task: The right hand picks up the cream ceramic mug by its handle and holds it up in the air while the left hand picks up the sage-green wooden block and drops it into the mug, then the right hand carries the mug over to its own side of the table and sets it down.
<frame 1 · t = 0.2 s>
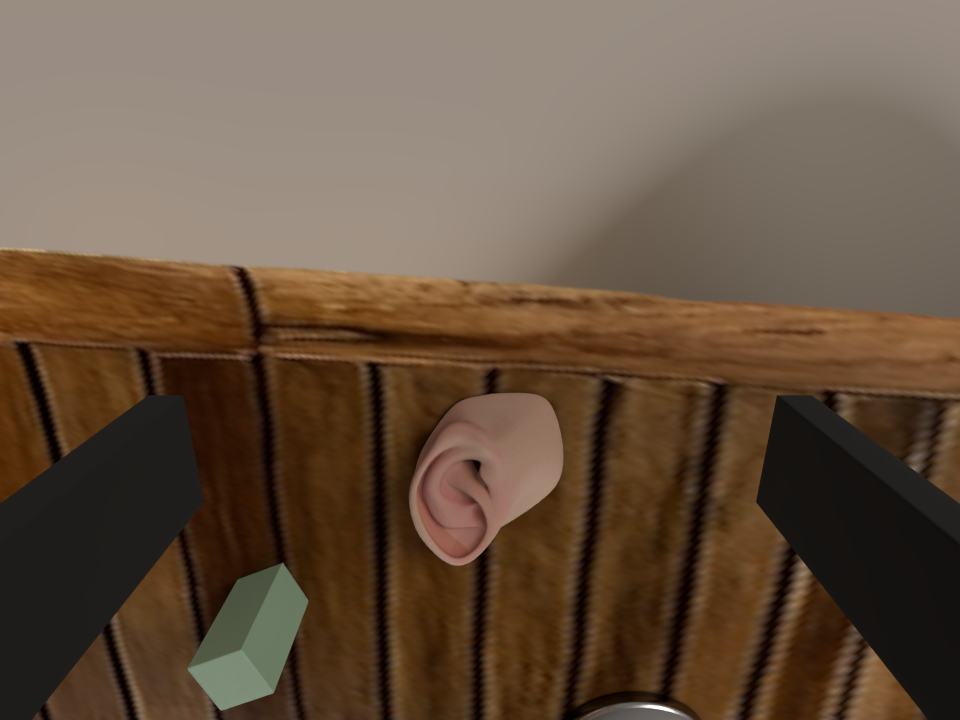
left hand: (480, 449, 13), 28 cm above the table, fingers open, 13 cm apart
block: (273, 590, 49), on the table
anatomical model: (486, 462, 45), on the table
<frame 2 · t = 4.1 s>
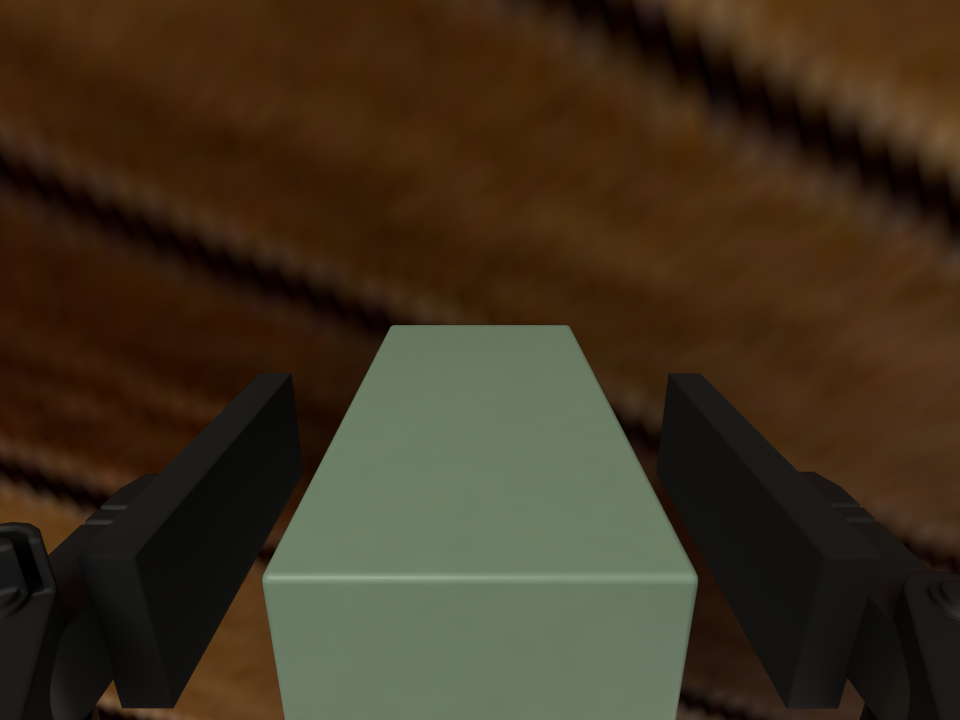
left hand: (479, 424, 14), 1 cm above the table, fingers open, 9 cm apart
block: (480, 406, 15), on the table
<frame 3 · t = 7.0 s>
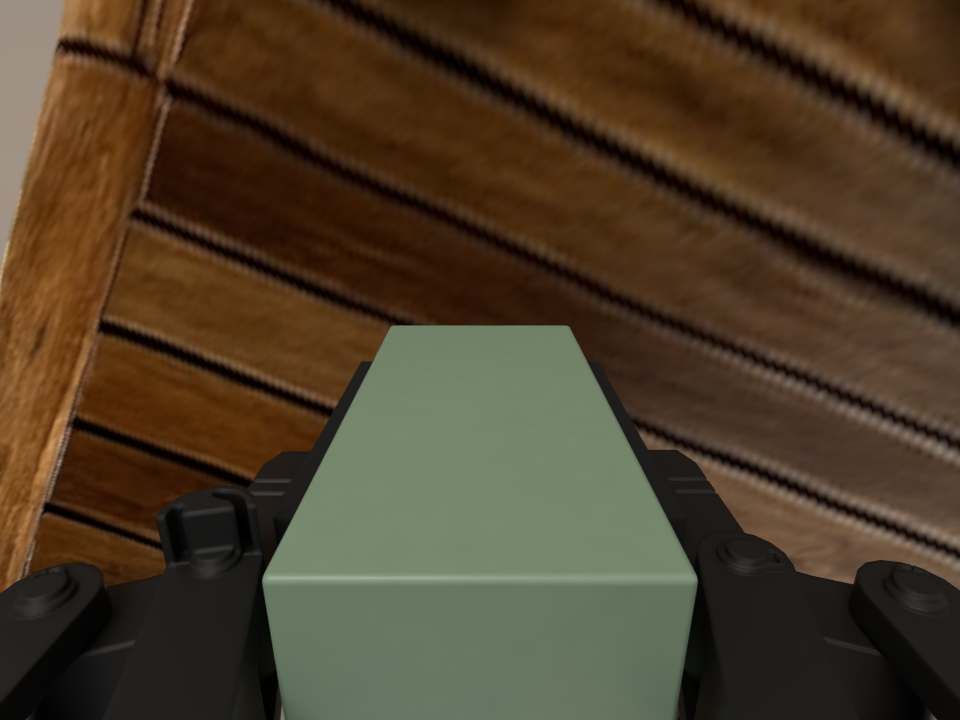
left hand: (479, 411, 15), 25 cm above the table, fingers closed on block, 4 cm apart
block: (480, 406, 15), point 24 cm above the table, touching left hand
when the left hand's fingers open (23 cm above the table, at t = 9.4 s): block drops 13 cm, resting on mug.
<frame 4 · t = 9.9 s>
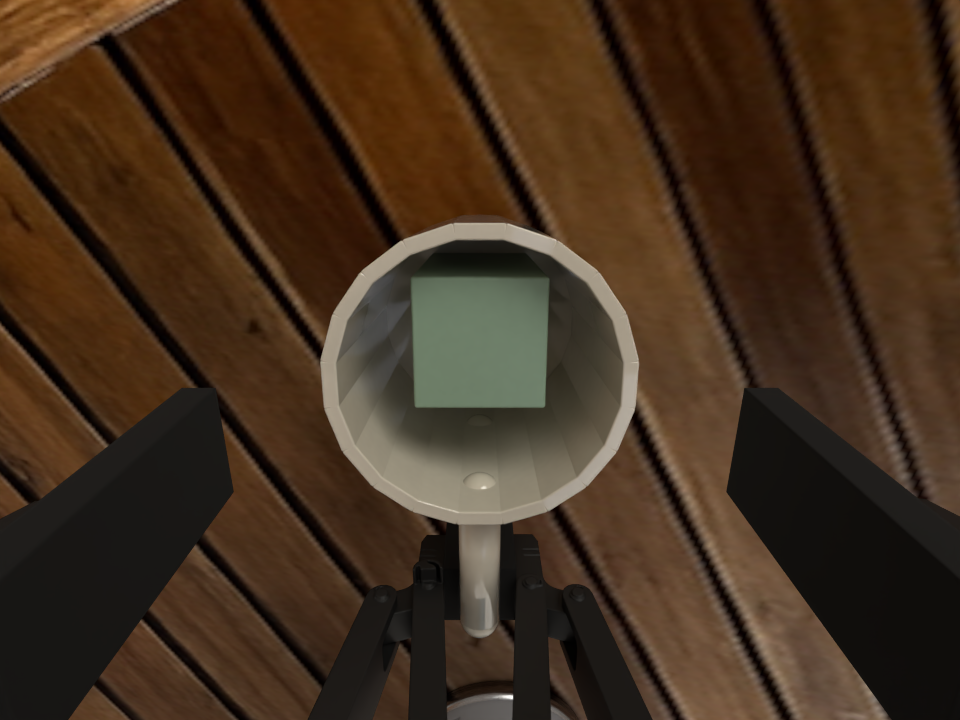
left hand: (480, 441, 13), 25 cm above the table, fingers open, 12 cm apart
mug: (479, 317, 28), point 9 cm above the table, touching block, right hand
block: (479, 299, 27), point 10 cm above the table, touching mug
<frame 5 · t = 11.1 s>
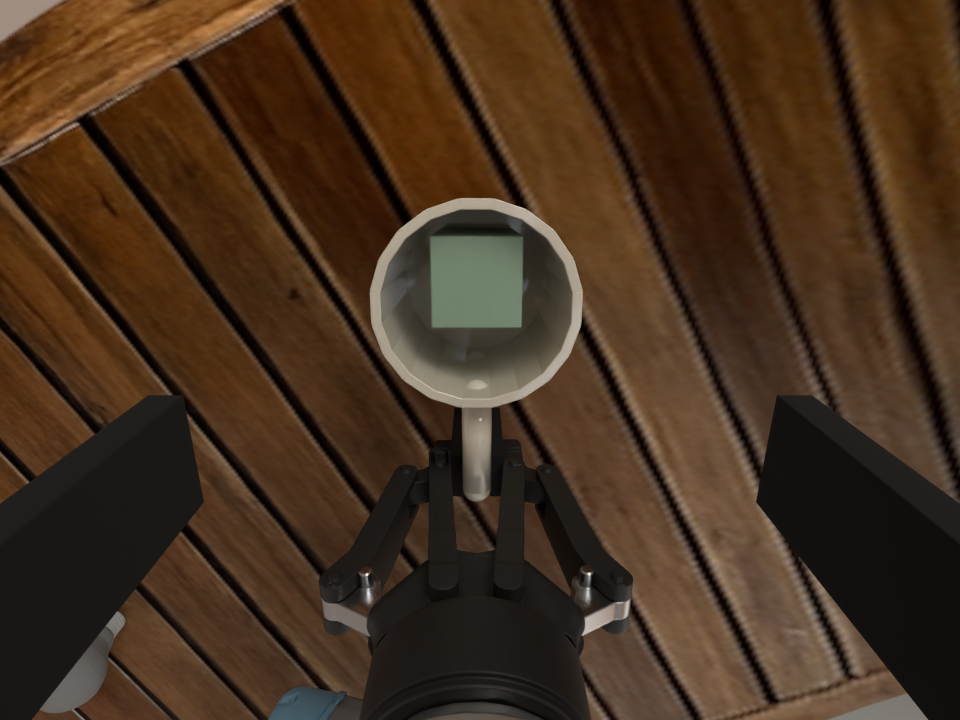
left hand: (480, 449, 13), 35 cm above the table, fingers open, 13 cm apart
right hand: (477, 425, 39), fingers closed on mug, 2 cm apart
mug: (477, 278, 37), point 9 cm above the table, touching block, right hand
block: (477, 263, 36), point 10 cm above the table, touching mug
light bulb: (115, 614, 58), on the table
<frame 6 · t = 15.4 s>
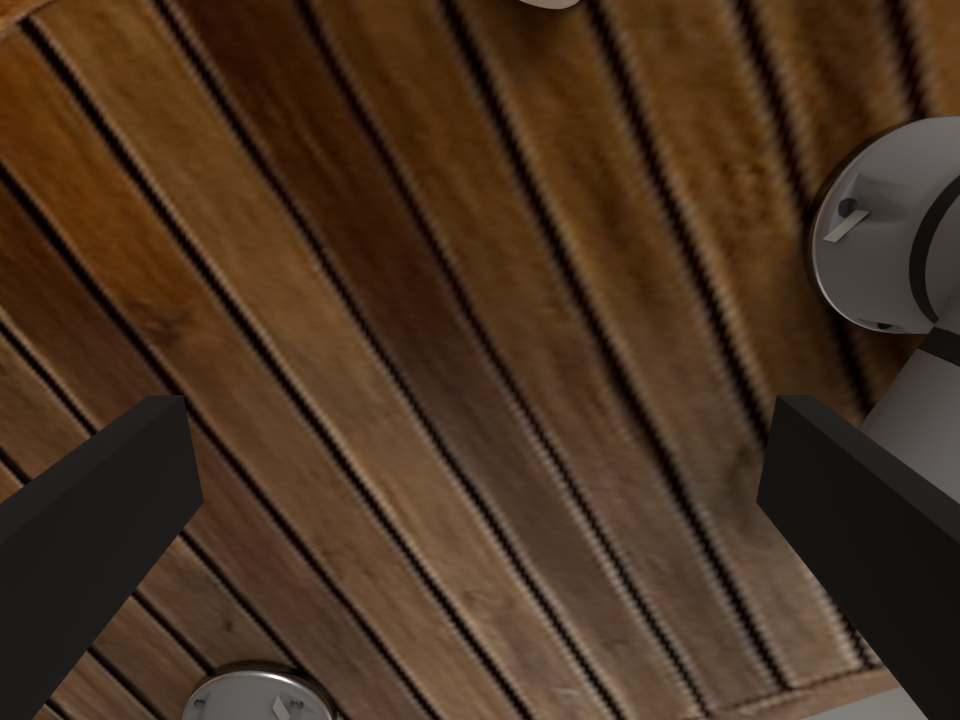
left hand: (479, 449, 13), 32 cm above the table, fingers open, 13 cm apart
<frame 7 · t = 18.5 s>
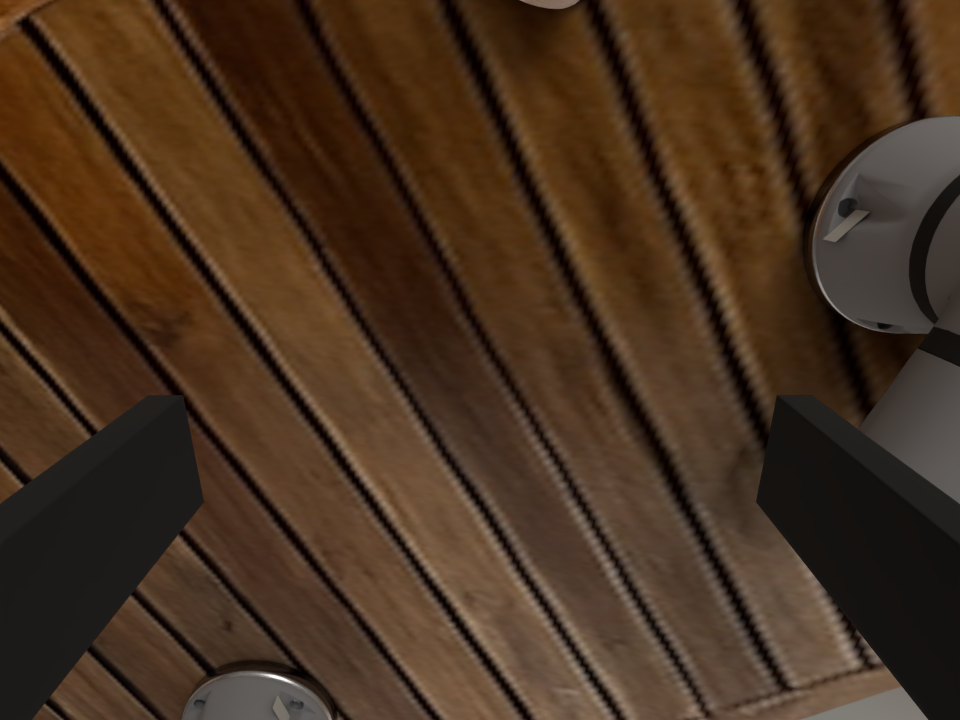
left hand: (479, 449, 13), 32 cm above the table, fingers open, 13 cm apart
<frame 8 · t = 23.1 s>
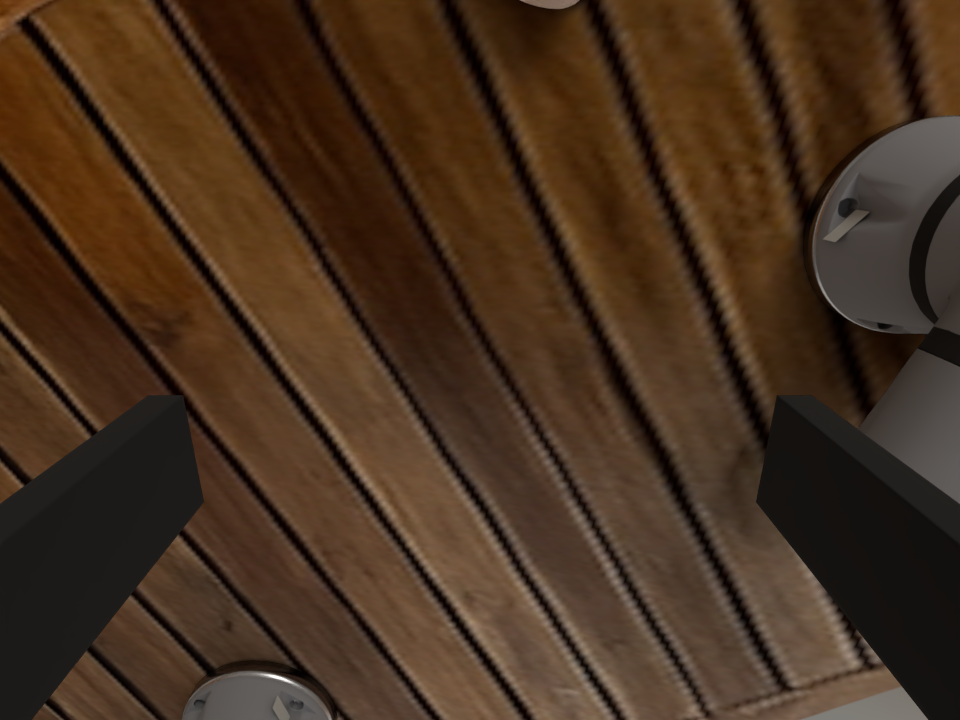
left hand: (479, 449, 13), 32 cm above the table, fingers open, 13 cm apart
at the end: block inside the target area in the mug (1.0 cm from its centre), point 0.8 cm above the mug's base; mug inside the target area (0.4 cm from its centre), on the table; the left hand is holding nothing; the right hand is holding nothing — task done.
